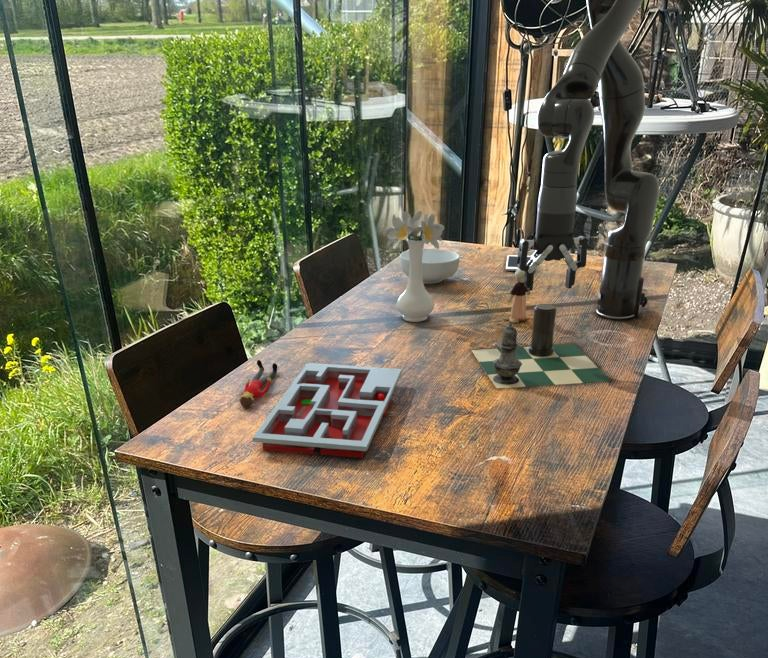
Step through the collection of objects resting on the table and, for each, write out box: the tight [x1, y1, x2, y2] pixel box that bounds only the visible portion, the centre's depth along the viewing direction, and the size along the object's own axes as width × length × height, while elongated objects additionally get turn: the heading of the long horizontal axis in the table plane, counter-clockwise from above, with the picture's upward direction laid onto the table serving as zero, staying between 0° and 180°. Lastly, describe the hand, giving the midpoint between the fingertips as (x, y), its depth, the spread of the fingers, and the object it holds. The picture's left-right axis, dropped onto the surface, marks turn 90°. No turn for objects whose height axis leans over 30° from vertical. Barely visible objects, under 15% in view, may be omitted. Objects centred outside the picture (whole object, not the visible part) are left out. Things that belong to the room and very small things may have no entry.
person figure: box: [239, 359, 278, 409], centre depth 159 cm, size 5×4×18 cm
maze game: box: [252, 362, 403, 459], centre depth 148 cm, size 35×20×3 cm, turn 169°
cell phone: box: [505, 254, 532, 272], centre depth 240 cm, size 8×16×1 cm, turn 171°
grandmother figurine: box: [507, 269, 532, 324], centre depth 193 cm, size 8×4×13 cm, turn 143°
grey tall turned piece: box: [493, 322, 522, 385], centre depth 160 cm, size 6×6×12 cm
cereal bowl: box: [399, 248, 460, 285], centre depth 225 cm, size 17×17×7 cm
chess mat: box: [470, 343, 612, 390], centre depth 170 cm, size 24×22×1 cm
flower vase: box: [385, 210, 445, 323], centre depth 192 cm, size 13×18×25 cm
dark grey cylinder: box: [528, 303, 557, 357], centre depth 174 cm, size 5×5×10 cm
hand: (548, 288), depth 169 cm, fingers open, 8 cm apart
